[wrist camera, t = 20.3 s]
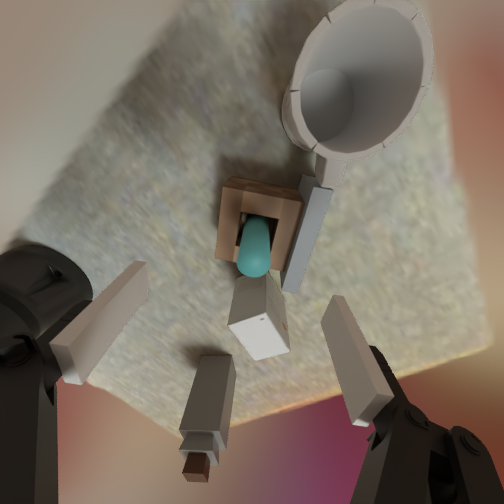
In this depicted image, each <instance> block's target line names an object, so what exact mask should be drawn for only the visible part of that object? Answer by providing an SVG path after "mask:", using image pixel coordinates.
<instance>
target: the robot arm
mask: <svg viewBox="0 0 504 504" xmlns="http://www.w3.org/2000/svg"><path fill="white" fill-rule="evenodd" d="M148 294H149V291H148V276H147V262H142V261H136V260H135V261H134V262H133V263H132V264H131V265H130V266H129V267H128V268H127V269H126V270H125V271H124V272H123V273H122V274H121V275H119V276H118V277H117V278H116V279H115V280H114V281H113V282H112V283H111V284H110V285H109V286H108V287H107V288H106V289H105V290H104V291H103V292H102V293H101V294H100V295H99V296H98V297H97V298H96V299H94V300H93V301H92V296H93V294H92V288H91V285H90V283H89V281H88V279H87V277H86V276H85V275H84V273H83V272H82V271H81V270H80V269H79V268H78V267H77V266H76V265H75V264H74V263H73V262H71V261H70V260H69V259H67V258H66V257H64V256H63V255H61V254H59V253H57V252H55V251H53V250H50V249H48V248H44V247H40V246H35V245H24V246H20V247H17V248H15V249H12V250H10V251H8V252H5V253H3V254H2V255H0V504H58V445H57V387H56V382H57V381H58V379H59V378H60V377H61V376H63V379H64V381H65V382H66V383H73V384H79V385H82V384H83V383H84V381H85V380H86V379H87V377H88V376H89V374H90V373H91V372H92V370H93V369H94V368H95V366H96V365H97V364H98V362H99V361H100V359H101V358H102V357H103V355H104V354H105V353H106V351H107V350H108V348H109V347H110V346H111V344H112V343H113V342H114V340H115V339H116V338H117V336H118V335H119V333H120V332H121V331H122V329H123V328H124V327H125V325H126V324H127V323H128V321H129V320H130V318H131V317H132V316H133V314H134V313H135V312H136V310H137V309H138V308H139V306H140V305H141V303H142V302H143V301H144V299H145V298H146V297H147V295H148ZM321 326H322V329H323V332H324V335H325V338H326V342H327V345H328V348H329V351H330V355H331V358H332V361H333V364H334V367H335V371H336V374H337V377H338V380H339V384H340V387H341V390H342V393H343V396H344V400H345V403H346V406H347V409H348V412H349V416H350V419H351V422H352V424H353V425H359V426H366V427H367V426H368V425H369V424H370V423H371V422H372V421H373V423H374V425H375V428H376V430H375V431H374V432H373V433H372V434H371V435H370V436H369V437H368V438H367V441H368V442H369V441H370V440H371V441H370V444H369V447H368V450H367V453H366V457H365V460H364V463H363V465H362V468H361V472H360V475H359V478H358V481H357V484H356V487H355V490H354V493H353V496H352V499H351V502H350V504H504V490H503V487H502V484H501V482H500V479H499V477H498V474H497V471H496V469H495V466H494V463H493V461H492V458H491V456H490V454H489V452H488V451H487V448H486V447H485V446H484V444H482V442H481V441H480V440H479V439H478V438H477V437H476V436H475V435H474V434H473V433H471V432H470V431H468V430H467V429H465V428H463V427H460V426H454V427H452V428H451V429H450V430H448V429H446V428H444V427H441V426H439V425H437V424H435V423H433V422H431V421H429V420H428V418H427V417H426V416H425V414H424V413H423V412H422V411H421V410H420V409H419V408H417V407H416V406H414V405H412V404H411V403H410V402H409V401H408V399H407V397H406V396H405V394H404V392H403V390H402V388H401V386H400V385H399V383H398V381H397V379H396V377H395V376H394V374H393V373H392V370H391V368H390V367H389V366H388V363H387V361H386V359H385V357H384V356H383V354H382V353H381V352H380V351H379V350H378V349H377V348H376V347H375V346H370V345H368V343H367V341H366V339H365V337H364V336H363V334H362V332H361V330H360V328H359V326H358V324H357V322H356V320H355V318H354V316H353V314H352V312H351V310H350V308H349V306H348V304H347V302H346V300H345V298H344V296H338V295H333V296H332V298H331V301H330V303H329V305H328V307H327V309H326V311H325V314H324V316H323V318H322V320H321Z"/></svg>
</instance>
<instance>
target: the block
mask: <svg viewBox="0 0 504 504" xmlns="http://www.w3.org/2000/svg"><path fill="white" fill-rule="evenodd" d="M304 205H305V202H304V200H303V198H302V196H301V195H300V193H299V191H298V190H296V189H291V188H286V187H281V186H276V185H270V184H265V183H260V182H255V181H250V180H245V179H240V178H235V177H231V178H230V179H229V180H228V181H227V183H226V184H225V185H224V186H223V188H222V197H221V206H220V215H219V225H218V234H217V243H216V252H215V259H220V260H225V261H231V262H236V263H237V257H238V252H239V248H240V243H241V239H242V234H243V230H244V225H245V221H246V216H247V213H251V214H256V215H262V216H267V217H268V222H269V241H270V259H271V265H270V268H269V269H273V270H279V271H284V272H285V268H286V265H287V262H288V258H289V255H290V252H291V248H292V245H293V242H294V238H295V235H296V232H297V229H298V225H299V222H300V219H301V215H302V212H303V209H304Z"/></svg>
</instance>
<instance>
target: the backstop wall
mask: <svg viewBox="0 0 504 504" xmlns="http://www.w3.org/2000/svg"><path fill="white" fill-rule="evenodd" d="M298 191H299V193H300V195H301V196H302V198H303V200H304V202H305V205H304V209H303V212H302V215H301V219H300V222H299V225H298V229H297V232H296V235H295V238H294V242H293V245H292V248H291V252H290V255H289V258H288V262H287V265H286V268H285V272H284V271H280V279H281V291H286V292H291V293H297V292H298V289H299V287H300V284H301V281H302V278H303V275H304V273H305V270H306V267H307V264H308V261H309V259H310V256H311V253H312V250H313V247H314V245H315V242H316V239H317V236H318V233H319V231H320V228H321V225H322V222H323V219H324V217H325V214H326V211H327V208H328V205H329V203H330V200H331V197H332V194H333V190H332V189H331V188H326V187H321V186H320V184H319V183H318V181H317V180H316V177H313V176H308V175H303V174H302V177H301V180H300V184H299V188H298Z"/></svg>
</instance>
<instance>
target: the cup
mask: <svg viewBox="0 0 504 504" xmlns="http://www.w3.org/2000/svg"><path fill="white" fill-rule="evenodd" d="M417 10H418V8H417V7H416V6H415V5H413V4H412V3H411V2H409V1H408V0H345V1H344V2H343V3H341V4H340V5H338V6H337V7H335V8H334V9H333V10H331V11H330V12H328V13H327V16H324V17H323V18H322V20H321V21H320V22H319V23H318V25H317V26H316V27H315V28H314V30H313V31H312V32H311V33H310V35H309V36H308V37H307V39H306V41H305V43H304V46H303V48H302V50H301V52H300V54H299V57H298V59H297V61H296V63H295V67H294V73H293V78H292V79H291V81H290V83H289V85H288V87H287V90H286V92H285V94H284V98H283V104H282V109H281V112H282V123H283V126H284V129H285V131H286V134H287V136H288V137H289V138H290V140H291V141H292V142H293V143H294V144H295V145H296V146H298V147H300V148H301V149H303V150H305V151H310V152H316V153H317V154H316V164H315V177H316V180H317V181H318V183H319V184H320V186H321V187H326V188H332V187H338V186H339V185H340V183H341V182H342V180H343V176H344V172H345V168H346V163H347V162H349V161H355V160H360V159H365V158H367V157H369V156H372V155H374V154H376V153H378V152H380V151H382V150H383V148H386V147H388V146H389V145H390V144H391V143H392V142H393V141H395V140H396V139H397V138H398V137H399V136H400V135H402V134H403V133H404V131H405V130H406V129H407V127H408V126H409V124H410V123H411V122H412V120H413V119H414V118H415V116H416V115H417V114H418V112H419V110H420V108H421V105H422V103H423V101H424V98H425V96H426V94H427V91H428V89H429V88H424V86H428V85H430V81H431V75H432V69H433V63H434V53H433V45H432V36H431V31H430V29H429V27H428V25H427V23H426V21H425V19H424V17H423V15H422V13H421V11H420V12H419V13H417V14H416V15H415V13H416V12H417ZM414 15H415V16H414Z"/></svg>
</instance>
